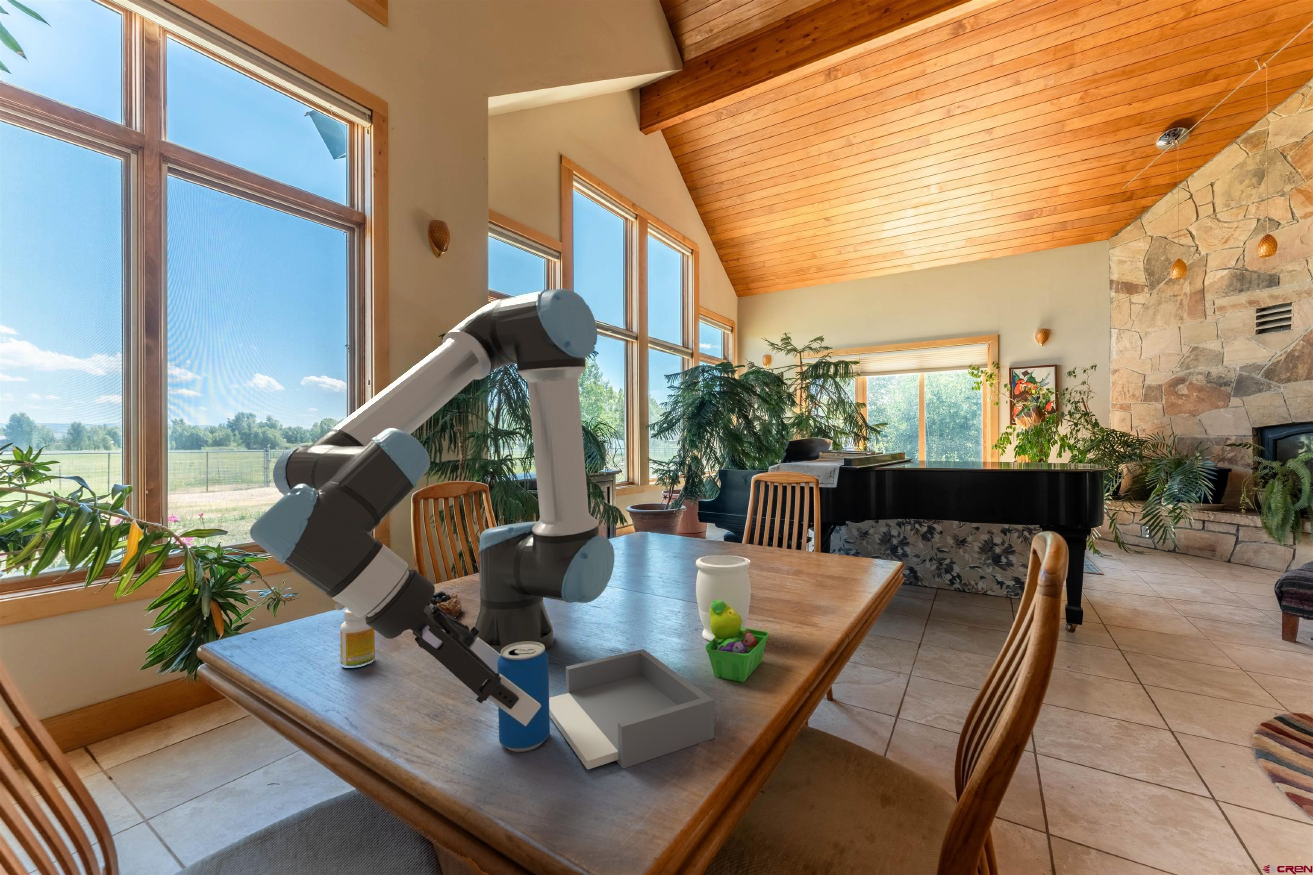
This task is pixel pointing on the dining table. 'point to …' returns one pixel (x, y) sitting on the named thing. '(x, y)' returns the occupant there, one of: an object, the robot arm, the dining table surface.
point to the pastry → (447, 603)
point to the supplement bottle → (356, 640)
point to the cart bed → (630, 710)
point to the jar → (722, 587)
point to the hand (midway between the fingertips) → (518, 691)
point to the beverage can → (531, 675)
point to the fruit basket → (733, 644)
